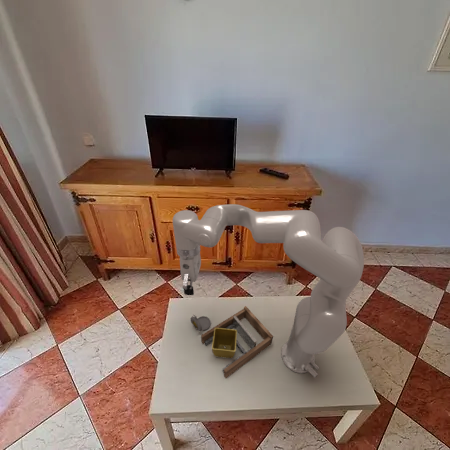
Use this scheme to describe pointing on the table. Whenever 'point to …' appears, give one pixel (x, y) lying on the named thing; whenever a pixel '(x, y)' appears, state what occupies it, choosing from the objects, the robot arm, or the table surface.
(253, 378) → the table surface
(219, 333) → the flower pot
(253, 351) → the frame
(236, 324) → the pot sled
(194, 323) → the pocket watch
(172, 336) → the table surface
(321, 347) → the robot arm
